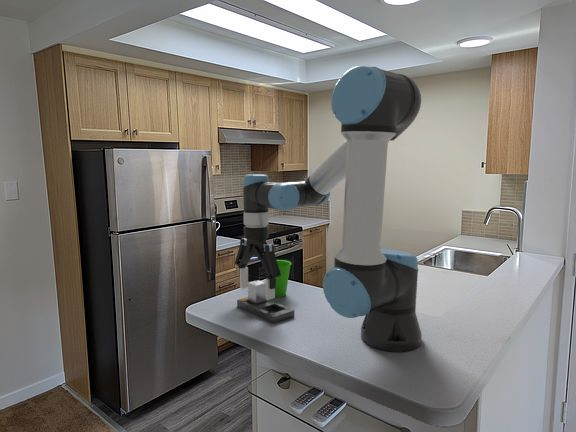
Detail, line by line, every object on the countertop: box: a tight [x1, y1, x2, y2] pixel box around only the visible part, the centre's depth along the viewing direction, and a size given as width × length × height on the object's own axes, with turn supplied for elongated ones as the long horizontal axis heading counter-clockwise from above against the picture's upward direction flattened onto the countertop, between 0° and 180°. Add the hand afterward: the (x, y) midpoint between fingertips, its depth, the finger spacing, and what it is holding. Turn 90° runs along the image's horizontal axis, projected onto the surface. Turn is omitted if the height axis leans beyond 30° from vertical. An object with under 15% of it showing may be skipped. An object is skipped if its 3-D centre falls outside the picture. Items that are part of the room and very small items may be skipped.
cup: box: [275, 259, 293, 298], centre depth 134 cm, size 9×9×11 cm
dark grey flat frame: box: [236, 296, 295, 325], centre depth 120 cm, size 18×8×2 cm, turn 42°
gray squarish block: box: [247, 279, 266, 306], centre depth 122 cm, size 4×4×8 cm
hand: (256, 293), depth 122 cm, fingers open, 13 cm apart
